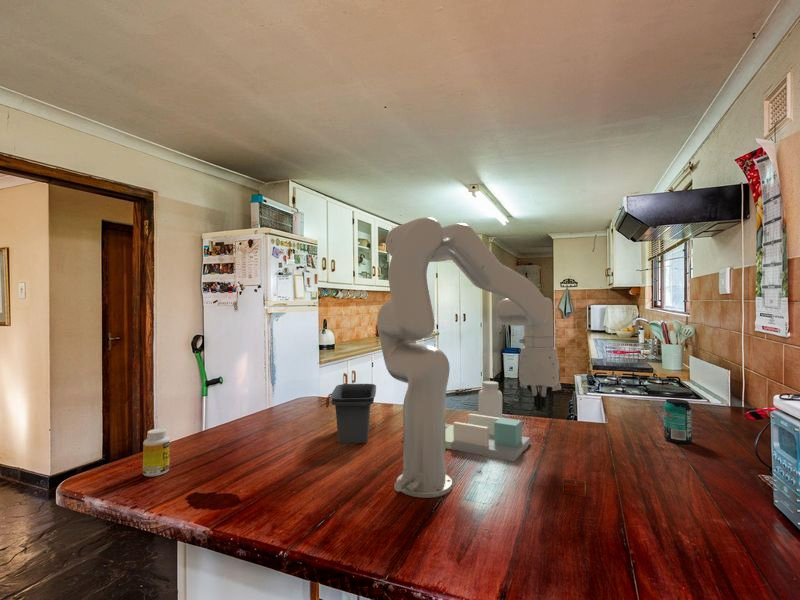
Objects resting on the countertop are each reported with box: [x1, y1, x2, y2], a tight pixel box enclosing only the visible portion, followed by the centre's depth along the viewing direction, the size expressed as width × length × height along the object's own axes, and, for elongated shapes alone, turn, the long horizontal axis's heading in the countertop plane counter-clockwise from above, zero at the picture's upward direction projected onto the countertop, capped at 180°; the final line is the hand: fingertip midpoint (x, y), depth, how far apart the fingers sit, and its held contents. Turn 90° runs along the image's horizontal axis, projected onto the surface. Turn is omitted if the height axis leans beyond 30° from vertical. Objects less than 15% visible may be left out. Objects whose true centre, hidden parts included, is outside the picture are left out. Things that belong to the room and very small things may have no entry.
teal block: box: [494, 417, 523, 448], centre depth 115 cm, size 6×6×6 cm
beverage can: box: [663, 398, 693, 445], centre depth 123 cm, size 7×7×12 cm
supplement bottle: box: [142, 427, 171, 477], centre depth 100 cm, size 6×6×10 cm
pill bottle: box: [477, 380, 503, 418], centre depth 138 cm, size 8×8×15 cm
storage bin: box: [325, 383, 377, 444], centre depth 129 cm, size 21×16×14 cm
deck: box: [445, 413, 531, 463], centre depth 122 cm, size 16×34×7 cm, turn 58°
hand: (540, 409), depth 111 cm, fingers closed
